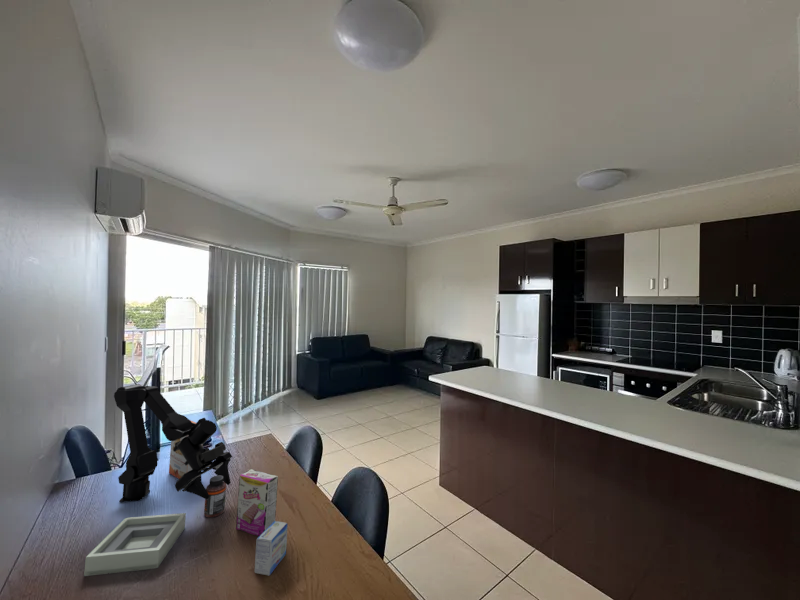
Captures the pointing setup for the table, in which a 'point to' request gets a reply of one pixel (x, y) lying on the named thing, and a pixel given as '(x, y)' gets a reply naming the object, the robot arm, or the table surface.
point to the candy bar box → (256, 501)
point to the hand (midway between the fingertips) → (219, 490)
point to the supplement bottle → (215, 497)
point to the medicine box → (270, 548)
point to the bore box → (136, 544)
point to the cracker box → (178, 461)
